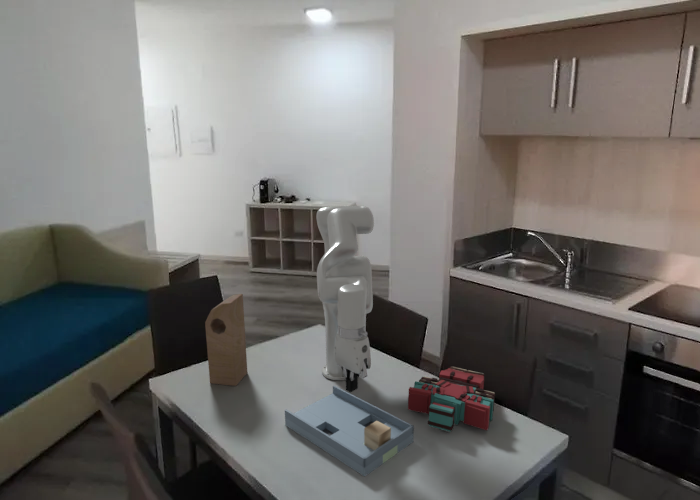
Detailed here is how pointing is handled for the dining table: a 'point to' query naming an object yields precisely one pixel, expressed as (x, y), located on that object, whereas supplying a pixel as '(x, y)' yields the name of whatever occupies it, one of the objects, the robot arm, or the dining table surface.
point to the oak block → (376, 435)
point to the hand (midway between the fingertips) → (351, 389)
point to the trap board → (349, 429)
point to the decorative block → (227, 342)
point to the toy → (453, 399)
